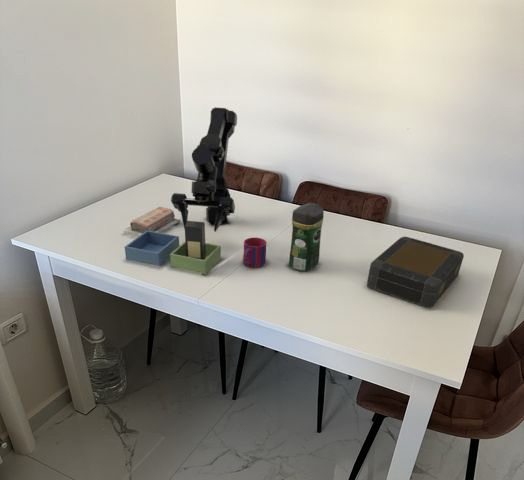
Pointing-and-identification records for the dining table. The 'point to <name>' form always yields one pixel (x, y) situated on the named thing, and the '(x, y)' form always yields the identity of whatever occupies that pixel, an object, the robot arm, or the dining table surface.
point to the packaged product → (152, 222)
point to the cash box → (415, 271)
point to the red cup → (254, 252)
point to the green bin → (194, 264)
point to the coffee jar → (306, 236)
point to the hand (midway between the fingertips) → (199, 230)
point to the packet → (195, 240)
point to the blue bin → (151, 248)
